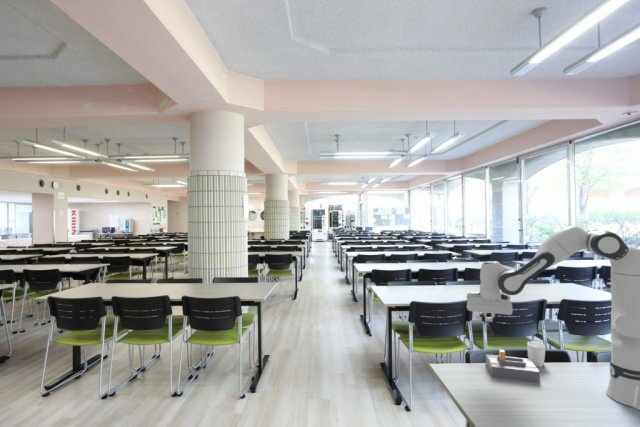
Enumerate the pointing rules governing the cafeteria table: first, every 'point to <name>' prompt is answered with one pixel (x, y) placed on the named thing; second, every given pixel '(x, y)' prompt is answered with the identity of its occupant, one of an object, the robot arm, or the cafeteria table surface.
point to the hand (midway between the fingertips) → (488, 321)
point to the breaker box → (513, 368)
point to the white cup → (536, 353)
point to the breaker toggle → (501, 354)
